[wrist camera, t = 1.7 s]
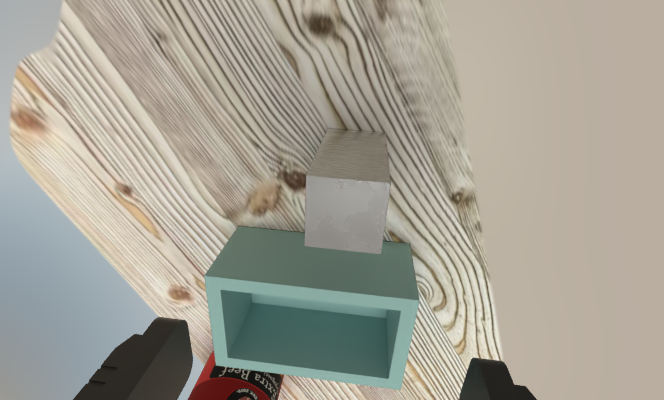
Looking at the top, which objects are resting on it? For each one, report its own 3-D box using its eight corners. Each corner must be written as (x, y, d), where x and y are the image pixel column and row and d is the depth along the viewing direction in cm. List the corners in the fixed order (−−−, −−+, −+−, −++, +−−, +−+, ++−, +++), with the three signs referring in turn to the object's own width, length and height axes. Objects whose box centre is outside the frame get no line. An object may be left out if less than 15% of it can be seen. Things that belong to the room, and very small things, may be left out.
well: (238, 226, 29) (204, 276, 23) (409, 243, 28) (419, 300, 22) (244, 305, 33) (215, 365, 27) (395, 323, 32) (400, 389, 26)
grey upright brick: (328, 128, 25) (306, 175, 17) (385, 132, 25) (390, 183, 17) (325, 180, 27) (304, 246, 19) (378, 185, 26) (380, 254, 18)
